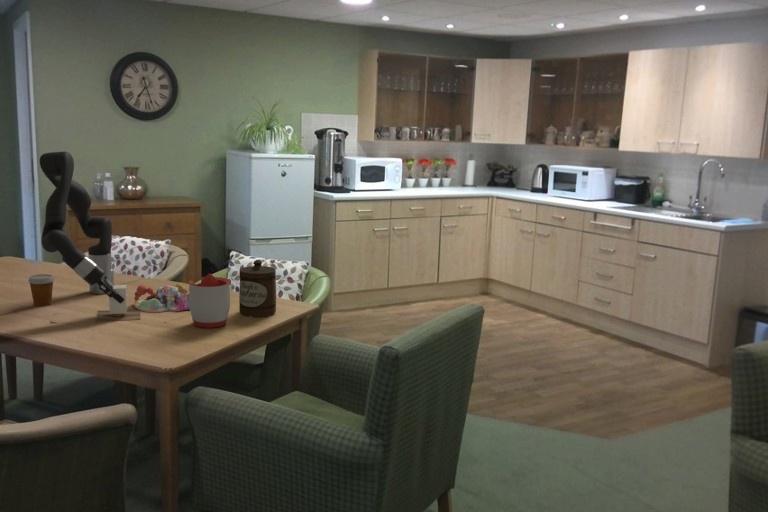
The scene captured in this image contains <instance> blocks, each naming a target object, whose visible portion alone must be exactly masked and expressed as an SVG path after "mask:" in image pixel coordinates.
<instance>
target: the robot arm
mask: <svg viewBox="0 0 768 512" xmlns="http://www.w3.org/2000/svg"><path fill="white" fill-rule="evenodd" d="M39 167H40V169H41V171H42V173H43V174H44V176H45V177H46V178H47V179H48V180H49V181H50V182H51V184H52V185H53V186H54V187H55V189H54V190H53V192H52V193H51V195H50V196H49V198H48V200H47V201H46V204H45V216H44V219H45V220H44V225H43V229H42V234H41V241H40V242H41V246H42V248H43V249H44V250H45V251H46V252H48V253H56V252H58V253H59V254H60V255H61V257H62V258H61V259H62V261H63V263H64V264H66V265H67V266H68V267H69V268H71V270H73V271H74V273H75V274H76V275H78V277H80V278H81V279H82V280H84V282H86V283H87V284H88V285H89V293H90V294H95V295H96V294H97V295H98V294H99V295H100V294H101V295H103V294H106V295H107V296H108V298H109V297H110V298H111V297H112V298H114V299H115V300H116V301H118V302H119V303H122V302H123V301H124V298H122V297H121V296H120V295H119V294H118V293H117V292H116V291H115V290H113V288H114V287H113V285H116V284H115V283H114V282H115V280H114V276H115V275H114V269H113V268H112V246H113V245H112V244H113V242H112V241H113V240H112V239H113V225H112V221H111V220H110V218H109V217H101V216H98V217H97V216H93V215H91V214H90V213H89V210H90V209H91V207H92V197H91V196H90V194H89V192H88V191H87V190H86V188H85V187H84V186H83V184H81V183H79V182H77V181H76V180H74V179H73V176H74V171H75V162H74V158H73V156H72V154H71V153H70V152H68V151H54V152H45V153H43V154H41V155H40V157H39ZM67 206H68V208H69V209H70V210H71V211H72V214H73V215H74V216H75V219H76V220H77V222H78V224H79V226H80V228H81V231H82V233H83V234H84V235H85V236H86V237H88V238H90V239H99V242H98V243H97V244H94V245H91V246H89V247H88V249H87V252H88V256H87V255H86V254H85V253H84V252H83V251H81V250H80V249H79V248H78V247H77V246H76V244H75V243H74V242H73V241H72V239H71V238H70V236H69V235H68V234H66V233H65V232H64V231H63V228H64V226H65V224H66V220H67V219H66V218H67ZM110 291H111V292H112V293H111V294H110V293H109V292H110Z"/></svg>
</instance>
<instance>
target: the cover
mask: <svg viewBox="0 0 768 512" xmlns="http://www.w3.org/2000/svg"><path fill="white" fill-rule="evenodd" d="M113 287H114V288H113V290H115V291H116V292H117V293H118V294H119V295H120V296H121V297H122V298H124V301H123V302H122V303H119V302H118V301H116V300H115V299H114V298H112V297H111V298H110V297H109V296H108V302H109V303H108V304H109V306H108V307H109V309H108V310H110V314H123V313H127V310H128V302H127V301H128V300H127V299H128V298H127V297H128V296H127V294H128V292H127V289H128V288H127V284H115V285H113ZM109 293H110V294H111V293H112V292H111V291H110V292H109Z"/></svg>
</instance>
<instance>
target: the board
mask: <svg viewBox="0 0 768 512" xmlns="http://www.w3.org/2000/svg"><path fill="white" fill-rule="evenodd" d="M125 321H128V322H129V321H141V310H139V309H137V308H135V309H134V308H133V309H132V308H131V309H127V313H124V316H120V317H115V316H113V314H110V309H108V310H107V309H106V310H97V314H96V318H95V323H106V322H125Z"/></svg>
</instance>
